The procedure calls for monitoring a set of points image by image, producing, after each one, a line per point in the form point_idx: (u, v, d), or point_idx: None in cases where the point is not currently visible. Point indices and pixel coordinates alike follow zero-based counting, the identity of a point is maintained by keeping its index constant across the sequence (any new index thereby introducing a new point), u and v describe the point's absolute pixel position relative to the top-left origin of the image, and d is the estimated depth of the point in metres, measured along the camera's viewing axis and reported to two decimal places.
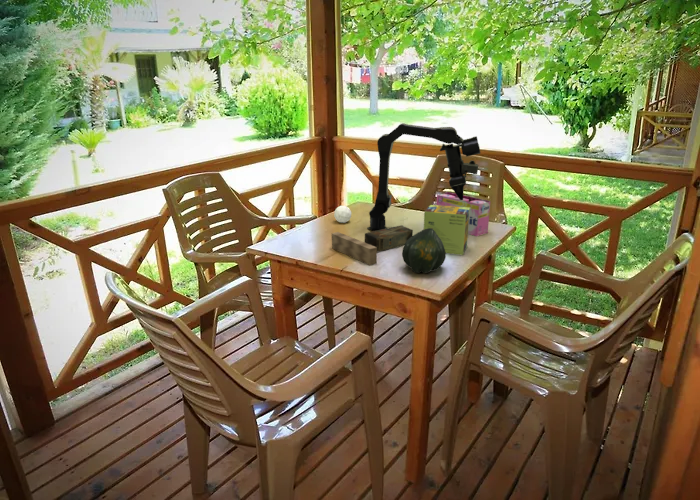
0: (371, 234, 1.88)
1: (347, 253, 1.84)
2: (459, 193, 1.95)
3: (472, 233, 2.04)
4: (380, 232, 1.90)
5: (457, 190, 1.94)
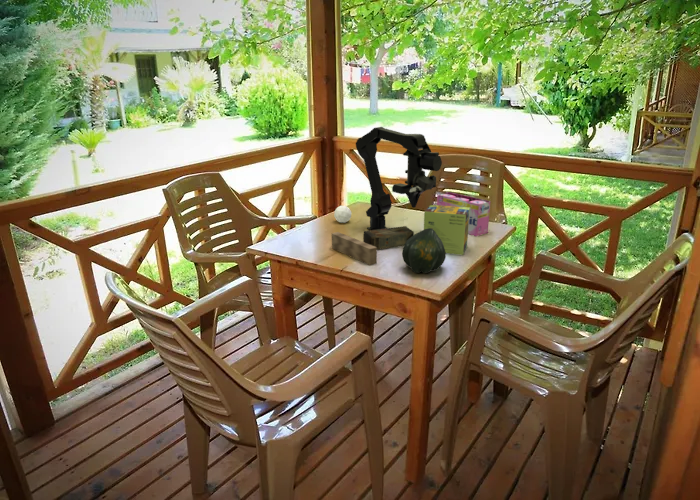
0: (368, 232, 1.90)
1: (347, 253, 1.84)
2: (411, 200, 1.95)
3: (472, 233, 2.04)
4: (379, 231, 1.91)
5: (409, 196, 1.95)
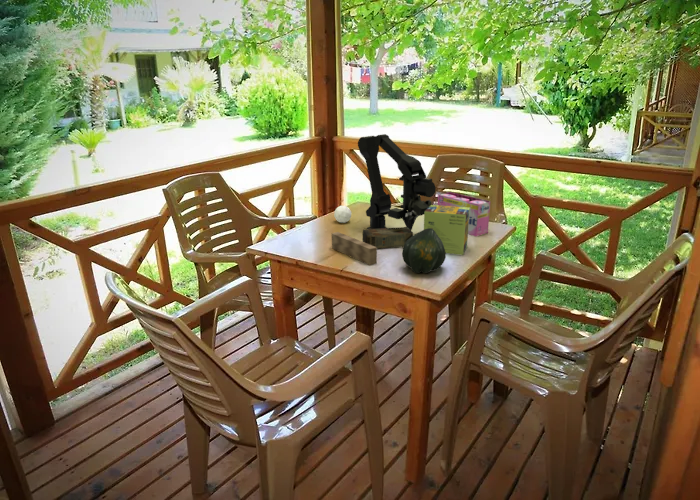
0: (366, 231, 1.91)
1: (347, 253, 1.84)
2: (407, 224, 1.97)
3: (472, 233, 2.04)
4: (377, 230, 1.91)
5: (405, 220, 1.97)
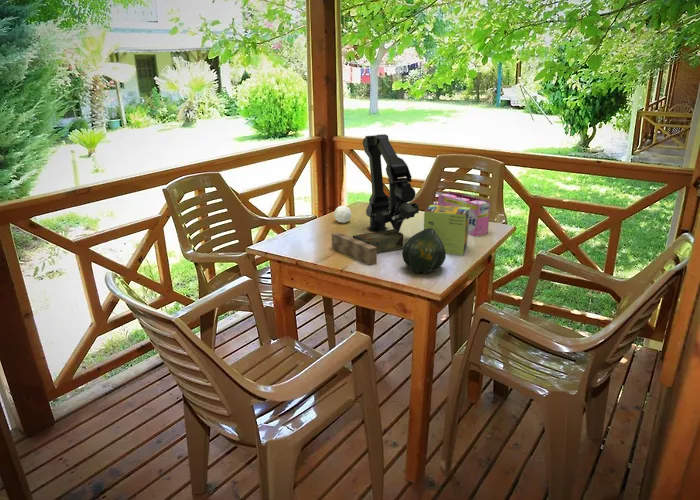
0: (358, 237, 1.84)
1: (347, 253, 1.84)
2: (394, 226, 1.94)
3: (471, 233, 2.04)
4: (368, 235, 1.86)
5: (393, 223, 1.94)
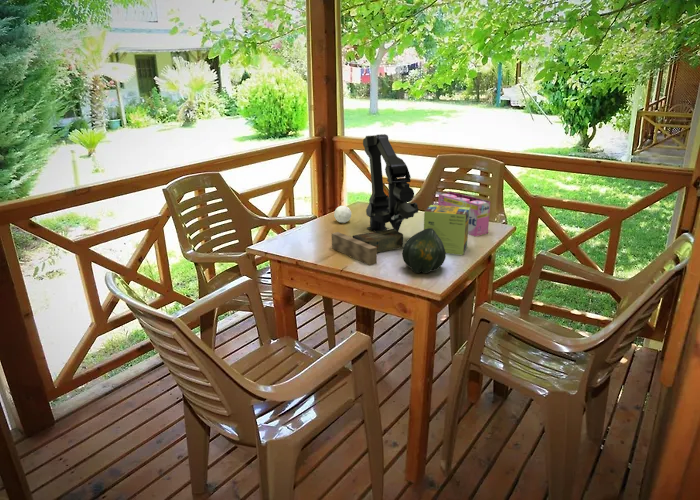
0: (358, 237, 1.84)
1: (347, 253, 1.84)
2: (394, 226, 1.94)
3: (471, 233, 2.04)
4: (368, 235, 1.86)
5: (392, 223, 1.94)
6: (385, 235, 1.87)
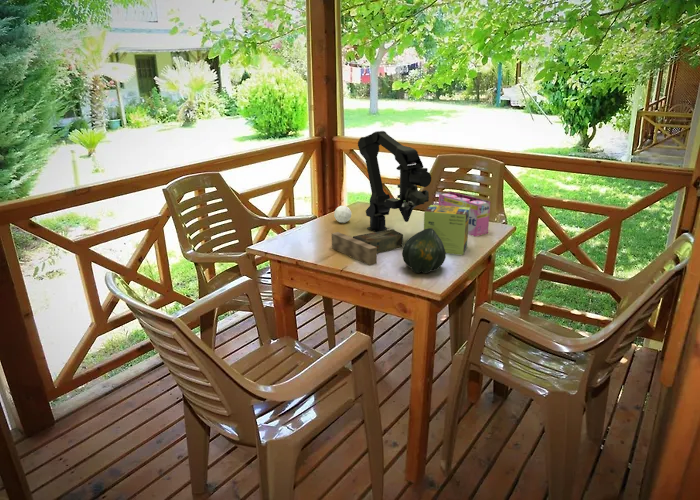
0: (358, 237, 1.84)
1: (347, 253, 1.84)
2: (403, 214, 1.94)
3: (471, 233, 2.04)
4: (368, 236, 1.86)
5: (402, 211, 1.94)
6: (385, 235, 1.87)
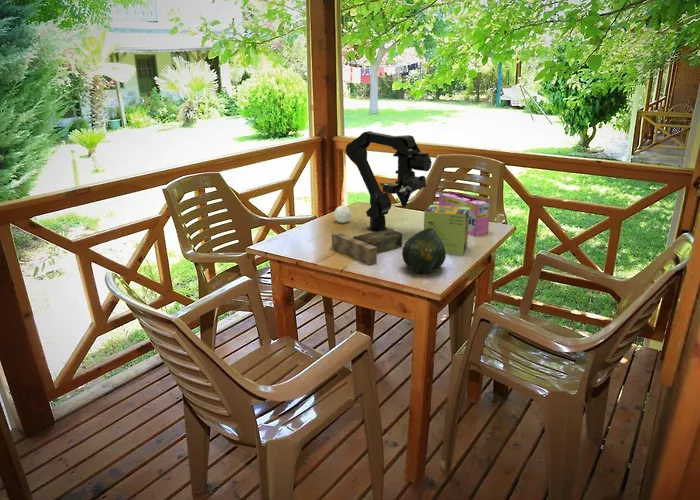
0: (359, 238, 1.84)
1: (347, 253, 1.84)
2: (401, 200, 2.00)
3: (471, 233, 2.03)
4: (368, 236, 1.86)
5: (400, 196, 1.99)
6: (385, 235, 1.88)
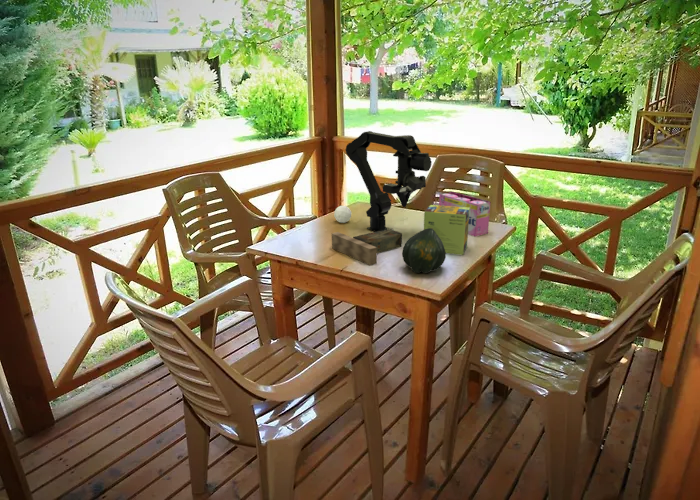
0: (359, 238, 1.84)
1: (347, 253, 1.84)
2: (401, 200, 2.00)
3: (471, 233, 2.03)
4: (368, 236, 1.86)
5: (400, 196, 1.99)
6: (385, 235, 1.88)
